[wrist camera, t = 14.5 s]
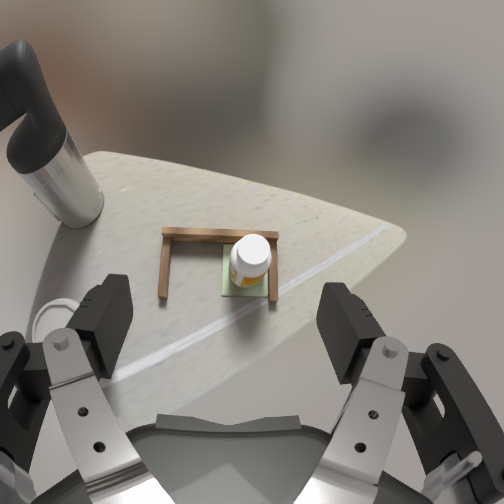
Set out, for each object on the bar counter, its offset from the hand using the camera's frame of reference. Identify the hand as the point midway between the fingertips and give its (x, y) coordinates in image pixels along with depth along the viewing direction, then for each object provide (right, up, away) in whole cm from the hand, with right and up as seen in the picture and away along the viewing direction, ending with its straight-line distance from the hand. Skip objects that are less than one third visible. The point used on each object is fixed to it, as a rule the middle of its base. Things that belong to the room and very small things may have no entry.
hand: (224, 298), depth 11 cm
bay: (-4, -1, +32) cm, 32 cm away
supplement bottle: (0, -1, +32) cm, 32 cm away
